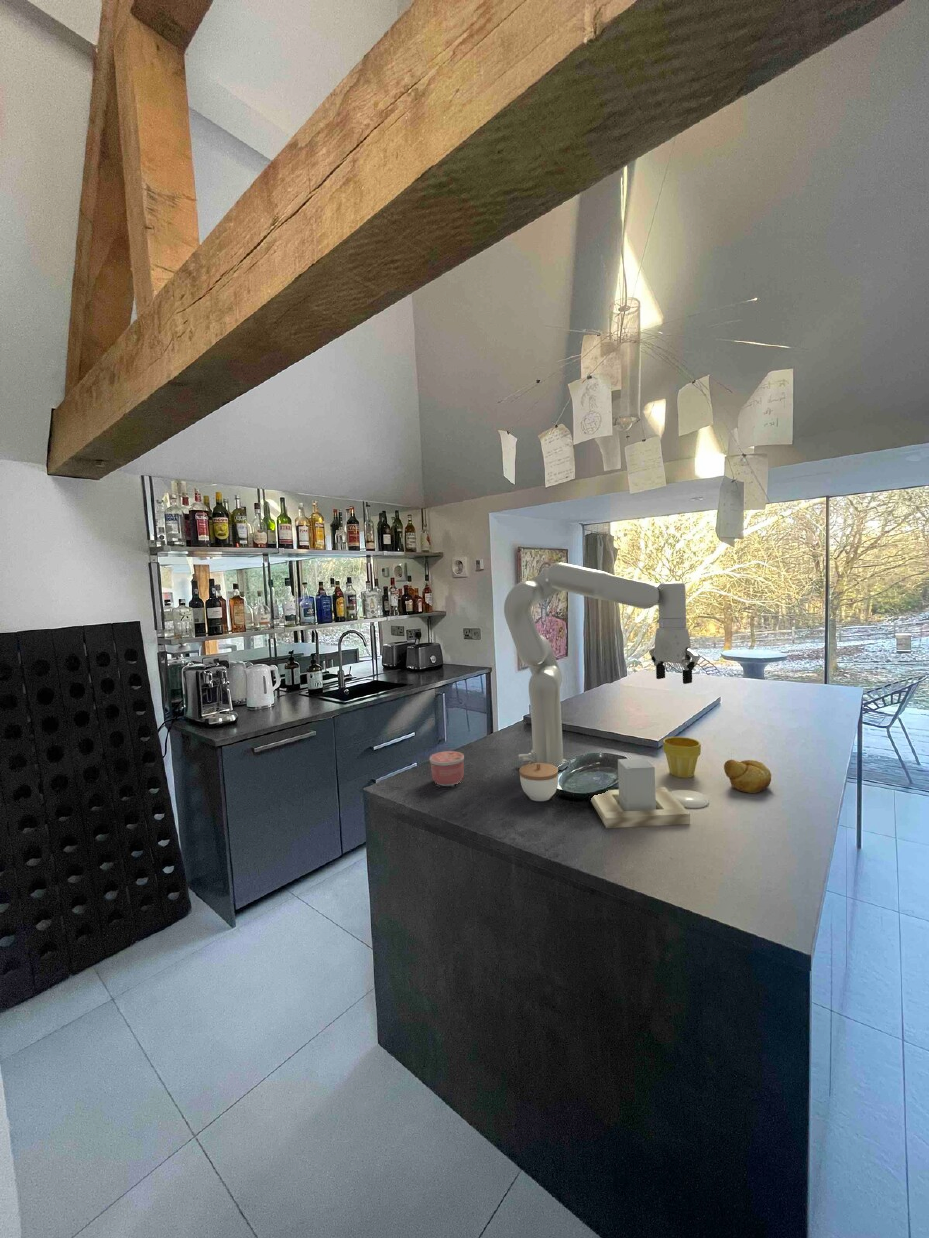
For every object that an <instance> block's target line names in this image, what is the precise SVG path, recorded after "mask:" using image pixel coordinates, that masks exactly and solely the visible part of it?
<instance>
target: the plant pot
mask: <svg viewBox="0 0 929 1238" xmlns="http://www.w3.org/2000/svg"><path fill="white" fill-rule="evenodd" d="M701 747H702V746H701V742H700V741H699V740H697V739H695V738H690V737H686V736H685V737H684V736H669V737H666V738H664V739H663V740H662V750H663V753H664V754H665V757H666V761H667V762H666V763H667V766H668V770H669V773H670V774H671V775H672V776H673V777H677V778H685V779H686V778H687V779H688V778H692V777H693V776H695V771H696V766H697V761H698V758H699V756H700V755H701V750H702V749H701Z"/></svg>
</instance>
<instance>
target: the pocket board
mask: <svg viewBox="0 0 929 1238" xmlns="http://www.w3.org/2000/svg"><path fill="white" fill-rule="evenodd" d="M607 790H608V791H606V792H605V793H602V794H598V795H594V796H593V797H592V798H591V800H590V802H591V804H592V806H593V807H594V809H595V811H596V812H597V813H596V814H597V815H598V816H599V818H600V820H601V821H602V823H603V825H604V826H605V829H615V828H617V829H618V828H619V829H620V828H635V827H653V826H656V827H657V826H658V827H659V826H673V825H675V826H676V825H691V812H689V810H687V809H686V808H685V807H683V806H682V805H681V804H680V803H679V802H678V801H677V800H676V799H675V798H674V797H673V795H672V794H671V793H670V792H671V791H669V790H668V789H667V788H666V787H665V786H660V787H655V795H656V810H641V811H623V810H622V809H621V807H620V806H619V789H607Z"/></svg>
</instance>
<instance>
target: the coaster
mask: <svg viewBox="0 0 929 1238" xmlns="http://www.w3.org/2000/svg"><path fill="white" fill-rule="evenodd" d="M669 792H670V793H671V794H672V795H673V797H674V798H675V799H676V800H677V801H678V802H679V803H680V804H681V805H682V806H683V807H684V808H685V809H686V808H687V809H701V808H705V807H707V806H708V805H709V804H710V798H709V797H708V796H707V795H705V794H704V793H701V792H698V791H695V790H689V789H688V790H687V789H677V790H672V791H669Z"/></svg>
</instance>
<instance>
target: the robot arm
mask: <svg viewBox="0 0 929 1238" xmlns="http://www.w3.org/2000/svg"><path fill="white" fill-rule="evenodd" d="M560 592H567V593H571V594H575V595H579V596H584V597H586V598H587V597H589V598H591V599H592V598H593V599H595V600H596V599H597V600H603V601H607V602H608V601H609V602H613V603H615V604H616V603H617V604H622V605H626V606H630V607H635V608H639V609H642V610H643V609H651V608H653V607H654V606H658V619H657V620H656V623H657V624H658V627H656V630H655V635H654V637H655V638H654V648H652V649H650V650H649V656H650V657H651V658H650V659H651V661H652V662H653V665H654V667H655V675H656V676H655V678H656V680H661V679H665V678H666V665H665V663H672V664H680V666H682V668H683V669H682V683H683V685H687V684H692V683H693V670H694V669H695V667H696V666H697V665H698V662H699V660H700V655H699V654H698V653H696V652H695V651H693V650H692V644H691V637H690V632H689V629H688V628H687V604H686V603H687V602H686V601H687V600H686V599H687V598H686V594H687V592H686V585H685V583H684V582H682V581H665V582H658V583H655V582H645V581H640V580H635V579H631V578H627V577H622V576H619V575H615V574H614V575H613V574H612V573H608V572H606V571H603V570H599V569H598V570H597V569H594V568H588V567H585V566H584V567H583V566H579V565H575V564H570V563H565V562H554V563H551V565H549V567H548V568H547V569H546V570H544V571H543V572H541V573H539V574H537V575H535V576H534V577H533V578H530V579H529V580H522V581H520V582H518V583H516V584H515V585H514V586H513V587H512V588H511V590H510V591H509V592H508V594H507V595H506V597H505V599H504V604H503V614H504V618H505V622H506V624H507V627H508V630H509V632H510V636H511V638H512V640H513V643H514V645H515V649H516V651H517V654H518V657H519V659H520V661H521V662H522V663H523V664H524V665H526V666H527V667H528V668H529V670H530V674H531V676H530V679H529V681H528V695H529V703H530V704H529V706H530V720H531V735H532V737H531V738H532V739H531V740H532V749H531V750H530V752H528V753H522V754H521V753H519V754H518V761H523V763H528V764H531V763H547V764H551V765H554V766H556V767H558V766H559V765H561V764H562V763H565V762H566V761H568V760H567V759H565V758H564V750H563V749H564V746H563V745H564V744H563V727H562V726H563V725H562V709H561V708H562V707H561V691H560V690H561V685H562V683H563V674H562V672H561V669H560V667H559V664H558V662H557V658H556V656H555V653H554V651H553V649H552V646H551V644H550V642H549V640H548V639H547V638H546V637H545V636H543V635H542V634H540V632H539V630H538V627H537V624H536V620H535V619H534V617H533V614H532V609H533V607H534V606H537V605H539V604H540V603H542V602H544V601H546V600H548V599H550V598H552V597H553V596H555V595H557V594H558V593H560Z"/></svg>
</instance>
